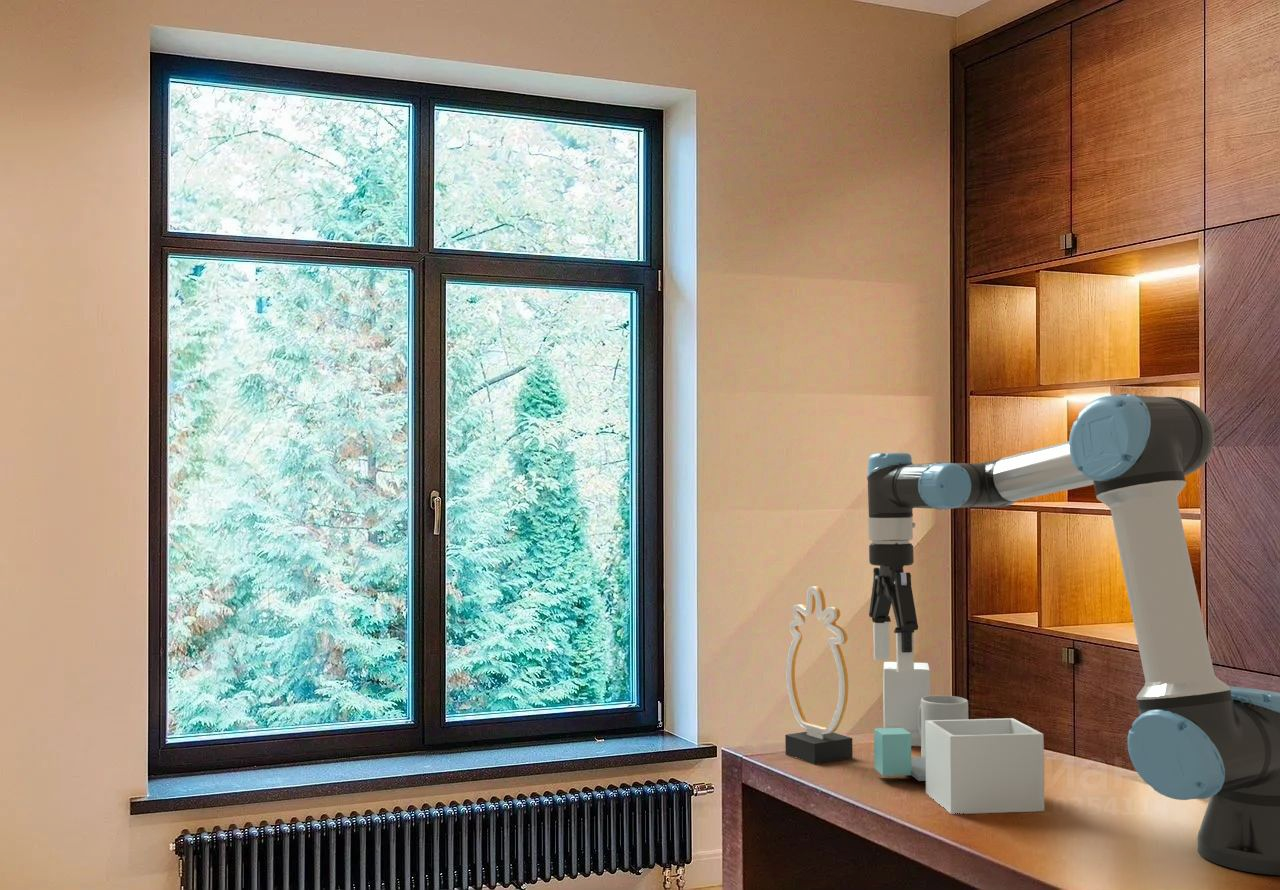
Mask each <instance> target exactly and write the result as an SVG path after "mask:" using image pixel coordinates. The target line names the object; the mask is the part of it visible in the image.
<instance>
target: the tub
mask: <svg viewBox="0 0 1280 890" xmlns="http://www.w3.org/2000/svg"><path fill="white" fill-rule="evenodd" d="M1044 742H1045V741H1044V733H1042V732H1040V731H1039V730H1038V729H1035V728H1032V727H1031V726H1029V725H1027V724H1025V723H1023V722H1021V721H1019V720H1017V719H1015V718H1013V717H1012V718H1011V717H1010V718H1007V717H1006V718H974V719H973V718H968V719H963V720H925V747H926V781H925V794H926V795H927V794H928V795H929V796H928V795H927V796H928V797H929V798H931V799H932V800H933V799H934V800H933V801H934V802H936V803H937V804H938V805H939V804H940V805H939V806H940V807H942V808H943V807H944V808H945V809H946V811H947V812H948V813H949V814H951V815H962V814H963V813H964V814H965V815H966V814H993V813H994V814H995V813H996V814H997V813H999V814H1000V813H1024V812H1025V813H1027V812H1028V813H1031V812H1045V759H1044V756H1045V753H1044V748H1045V745H1044ZM944 808H943V809H944ZM945 809H944V810H945ZM955 813H956V814H955ZM957 813H958V814H957ZM959 813H960V814H959ZM964 814H963V815H964Z"/></svg>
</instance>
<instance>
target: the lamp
mask: <svg viewBox="0 0 1280 890" xmlns="http://www.w3.org/2000/svg"><path fill="white" fill-rule="evenodd" d="M805 598H806V600H805V601H806V603H805V604H806V605H805V604H802V603H800V604H794V605H793V606H792V616H793V618H794V620H793V621H791V622H789V625H788V628H789V629H788V630H789V632H790V634H791V636H792V640H791V643H790V646H789V648H788V652H787V657H786V666H785V681H786V690H787V696H788V699H789V704H790V707H791V710H792V713H793V715H794V718H795V719H796V721H797V724H798V725H799V726H800V727H801V728H803V729H805V730H806V731H802V732H794V733H787V734H785V756H788V755H789V757H791V756H793V757H792V758H794V757H797V758H800V759H803V760H805V761H804V762H806V761H807V762H806V763H809V762H810V764H812V763H814V764H813V765H818V764H817V763H820V764H826V762H827V763H831V762H837V761H839V762H840V761H844V760H849V759H853V758H854V757H853V751H854V750H853V737H852V736H851V737H850V736H847V735H844V734H840V733H837V732H836V731H837V730H838V728H839V727H840V725H841V723H842V721H843V718H844V716H845V712H846V709H847V705H848V700H849V699H848V698H849V675H848V669H847V664H846V660H845V657H844V654H843V651H842V649H841V646H840V645H845V644H846V643H848V634H847V633H846V630H845V629H844V628H843V627H841V626H840V625H837V624H836V622H837V621H838V620H839V619H840V617H841V610H840V609H839V607H837V606H827V607H826V598H825V594H824V592H823V589H822V588H821V587H820V586H818V585H815V586H814V585H813V586H809V587H808V588H807V591H806V597H805ZM815 611H816V619H817V621H818V622H821V621H823V620H824V619H825V621H824V622H823V626H822V627H823V628H825V629H827V630H828V631H830V632H832V633H833V634H834V636H835V637H828V638H827V643H828V646H829V647H830V650H831V653H832V656H833V658H834V661H835V666H836V670H837V677H838V696H837V697H838V699H837V703H836V708H835V712H834V715H833V717H832V720H831V721H830V723H829V724H828V726H827V727H825V726H823V725H822V726H821V725H819V724H816V723H811V722H809V721H808V720H807V719H806V716H805V714H804V712H803V709H802V706H801V704H800V698H799V696H798V691H797V684H796V683H797V682H796V662H797V656H798V652H799V648H800V646H801V643H802V640H803V635H802V632H801V630H800V628H799V627H800V626H801V627H802V626H803V625H804V624H805V623H806V617H809V616H811V615H813V614H814V613H815ZM797 758H796V759H797ZM800 759H799V760H800ZM803 760H802V761H803Z"/></svg>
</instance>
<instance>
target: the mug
mask: <svg viewBox="0 0 1280 890" xmlns="http://www.w3.org/2000/svg"><path fill="white" fill-rule="evenodd" d="M963 719H969V700H968V699H966V698H964V697H962V696H961V697H960V696H956V695H955V696H953V695H940V694H939V695H930V696H926V697H923V698H922V699H921V705H920V706H919V709H918V729H919V732H920V735H921V747H920V749H921V751H920V755H921V756H920V757H926V747H925V720H963Z"/></svg>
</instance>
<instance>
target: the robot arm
mask: <svg viewBox="0 0 1280 890" xmlns="http://www.w3.org/2000/svg"><path fill="white" fill-rule="evenodd" d="M1078 413H1079V414H1078V416H1077V418H1076V419H1075V420H1074V421H1073V424H1072V426H1071V429H1070V432H1069V433H1070V434H1069V439H1068V440H1067V441H1064V442H1061V443H1056V444H1052V445H1050V446H1049V445H1048V446H1045V447H1042V448H1041V447H1040V448H1037V449H1034V450H1029V451H1025V452H1021V453H1017V454H1013V455H1010V456H1004V457H1001V458H997V459H994V460H990V461H984V462H974V463H973V462H972V463H966V462H964V463H962V462H958V463H957V462H956V463H955V462H954V463H952V462H932V463H928V462H927V463H913V462H912V461H913V460H912V455H911V454H910V453H909V452H887V453H886V452H885V453H883V452H880V453H878V452H877V453H876V452H875V453H872V454H871V455H870V456H869V458H868V462H867V475H866V480H867V501H868V504H867V505H868V506H867V509H868V517H867V518H868V519H867V520H868V521H867V522H868V528H867V529H868V534H867V535H868V540H870V541H871V543H870V544H869V545H868V559H869V564H870V565H872V566H878V567H874V568H873V570H872V571H873V579H872V580H873V581H872V589H871V597H870V605H869V612H868V616H869V618H871V620H872V623H873V624H872V625H873V626H872V627H873V629H872V630H873V632H872V633H873V637H872V638H873V661H890V660H891V647H890V646H891V643H890V642H891V641H890V639H891V638H890V637H891V636H890V622H892V620H891V617H890V611H891V607H892V611H893V613H894V615H893V616H894V619H895V623H896V626H895V628H894V631H893V633H895V639H896V641H895V645H896V648H895V649H896V650H895V651H896V662H897V672H914V663H915V660H914V658H915V657H914V656H915V655H914V653H915V652H914V651H915V650H914V633H915V631H918V629H919V624H918V619H917V613H916V607H915V606H916V605H915V600H914V595H913V588H912V575H911V572H904V567H905V566H906V567H907V566H912V565H913V564H914V561H915V559H914V558H915V556H914V544H913V543H911V542H910V541H912V540H913V539H914V530H913V529H914V528H916V525H917V524H916V523H915V522H913V518H914V517H913V515H914V512H913V509H935V510H938V511H941V510H951V509H959V508H962V509H963V508H1003V507H1005V506H1008V507H1009V506H1011V505H1013V504H1015V503H1016V502H1017V501H1021V500H1026V499H1031V498H1035V497H1040V496H1045V495H1050V494H1054V493H1060V492H1064V491H1068V490H1073V489H1078V488H1084V487H1089V486H1093V485H1094V486H1093V487H1094V492H1095V496H1096V500H1098V502H1101V503H1102V504H1103V505H1105V506H1107V507H1108V509H1110V512H1111V513H1110V514H1111V518H1112V522H1113V527H1114V532H1115V537H1116V543H1117V548H1118V552H1119V556H1120V557H1119V559H1120V562H1121V566H1122V567H1121V568H1122V573H1123V576H1124V581H1125V588H1126V592H1127V597H1128V602H1129V608H1130V611H1131V617H1132V622H1133V626H1134V630H1135V635H1136V637H1135V638H1136V641H1137V646H1138V650H1139V651H1138V652H1139V655H1140V659H1141V661H1140V662H1141V666H1142V670H1143V676H1144V681H1145V682H1144V686H1142V688H1141V690H1140V691H1139V692H1138V694H1137V695H1136V701H1137V702H1136V703H1137V707H1138V713H1139V716H1138V717H1136V718H1135V720H1134V721H1132V725H1131V726H1132V727H1131V728H1130V729H1129V730H1128V734H1127V750H1128V755H1129V758H1130V761H1131V763H1132V765H1133V768H1134V769H1135V771H1136V773H1137V774H1138V775H1139V777H1140V778H1141V779H1142V780H1143V781H1144V782H1145V784H1147V785H1149V786H1150V787H1151V788H1152V789H1153V790H1154V791H1155V792H1157V793H1158V794H1160V795H1162V796H1164V797H1166V798H1170V799H1173V800H1179V801H1188V800H1205V799H1209V798H1210V799H1209V800H1208V804H1207V807H1206V809H1205V812H1204V816H1203V818H1202V821H1201V824H1200V828H1199V831H1198V832H1197V852H1198V854H1199V855H1200V856H1201V857H1203V858H1204V859H1206V860H1207V861H1209V862H1211V863H1214V864H1215V865H1219V866H1222V867H1226V868H1230V869H1233V870H1236V871H1237V870H1238V871H1242V872H1248V873H1252V874H1253V873H1254V874H1261V875H1270V876H1280V692H1278V691H1277V692H1276V691H1271V690H1265V689H1264V690H1263V689H1257V688H1256V689H1255V688H1249V687H1241V686H1230V685H1228V684H1226V683H1225V682H1223V681H1222V680H1221V679H1219V678H1218V677H1217V676H1216V675H1215V672H1214V671H1215V670H1214V666H1213V661H1212V658H1211V657H1212V656H1211V652H1210V646H1209V642H1208V637H1207V634H1206V629H1205V624H1204V619H1203V615H1202V609H1201V606H1200V601H1199V595H1198V591H1197V587H1196V583H1195V578H1194V572H1193V568H1192V564H1191V558H1190V553H1189V550H1188V549H1189V548H1188V545H1187V541H1186V540H1187V539H1186V536H1185V535H1186V534H1185V530H1184V526H1183V522H1182V517H1181V512H1180V508H1179V502H1178V497H1179V495H1180V493H1181V492H1182V490H1184V488H1185V487H1186V485H1187V481H1186V478H1185V477H1186V476H1188V475H1191V474H1193V473H1195V472H1196V471H1198V470H1200V468H1202V467H1203V466H1204V464H1205V463H1206V462H1207V461H1209V458H1210V456H1211V455H1212V451H1213V449H1214V446H1215V432H1214V427H1213V424H1212V421H1211V419H1210V417H1208V415H1207V413H1206V412H1205V411H1204V410H1203V409H1202V408H1201V407H1199V406H1198V405H1197V404H1195V403H1194V402H1192V401H1190V400H1187V399H1184V398H1181V397H1175V396H1152V395H1149V396H1148V395H1135V394H1130V393H1129V394H1127V393H1122V394H1118V395H1107V396H1106V395H1105V396H1101V397H1098V398H1096V399H1094V400H1092V401H1091V402H1089V403H1088V404H1086V406H1084V407H1083V408H1082V409H1081V411H1080V412H1078Z"/></svg>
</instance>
